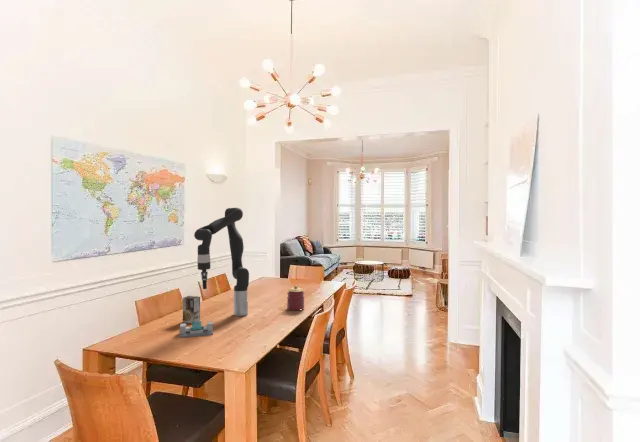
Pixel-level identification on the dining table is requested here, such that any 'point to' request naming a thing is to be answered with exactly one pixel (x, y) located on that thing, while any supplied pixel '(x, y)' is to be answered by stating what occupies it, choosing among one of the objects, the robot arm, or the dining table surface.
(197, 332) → the shaft bench
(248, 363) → the dining table surface
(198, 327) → the coupler
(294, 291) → the canister
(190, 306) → the coffee box
